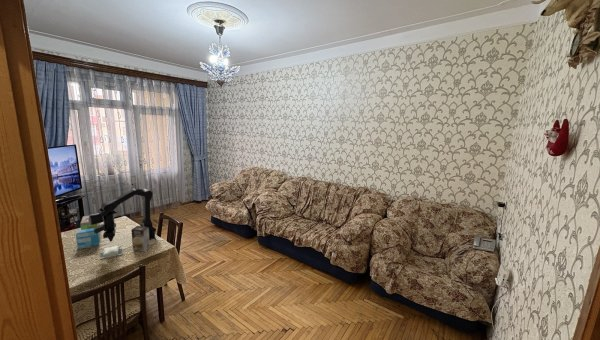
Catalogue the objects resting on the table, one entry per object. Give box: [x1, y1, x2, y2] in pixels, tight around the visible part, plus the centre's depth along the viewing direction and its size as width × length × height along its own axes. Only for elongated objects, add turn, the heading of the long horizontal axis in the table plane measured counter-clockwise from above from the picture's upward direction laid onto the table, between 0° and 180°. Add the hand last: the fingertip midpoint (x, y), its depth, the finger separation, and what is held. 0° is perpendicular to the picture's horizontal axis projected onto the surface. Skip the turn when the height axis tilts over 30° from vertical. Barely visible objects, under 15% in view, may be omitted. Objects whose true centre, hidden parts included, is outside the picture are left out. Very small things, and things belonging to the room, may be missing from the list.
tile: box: [103, 245, 120, 257], centre depth 174 cm, size 8×2×9 cm
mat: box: [99, 247, 123, 261], centre depth 173 cm, size 12×10×1 cm
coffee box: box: [131, 225, 151, 252], centre depth 180 cm, size 9×6×16 cm
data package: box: [75, 228, 100, 249], centre depth 180 cm, size 12×4×12 cm, turn 126°
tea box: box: [79, 215, 101, 235], centre depth 193 cm, size 15×10×15 cm
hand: (111, 241), depth 176 cm, fingers closed
